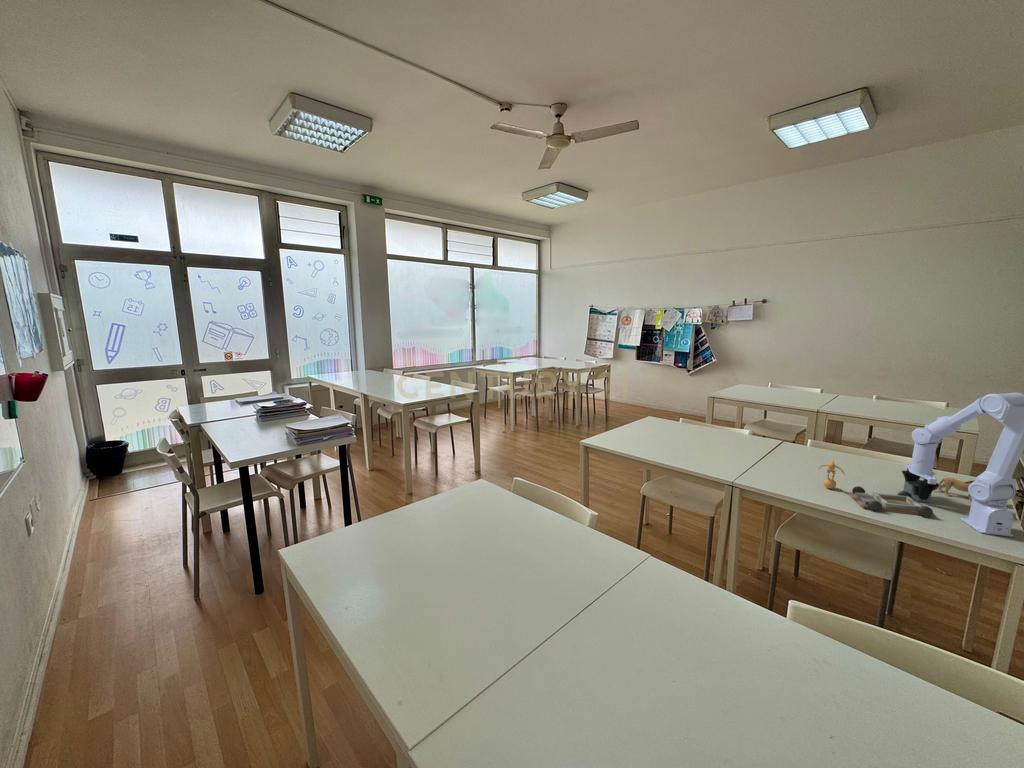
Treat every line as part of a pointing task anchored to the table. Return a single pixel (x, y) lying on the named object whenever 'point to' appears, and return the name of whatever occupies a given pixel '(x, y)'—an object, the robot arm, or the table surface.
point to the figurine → (830, 482)
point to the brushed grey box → (914, 491)
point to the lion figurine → (954, 485)
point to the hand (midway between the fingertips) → (916, 494)
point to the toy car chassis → (890, 502)
